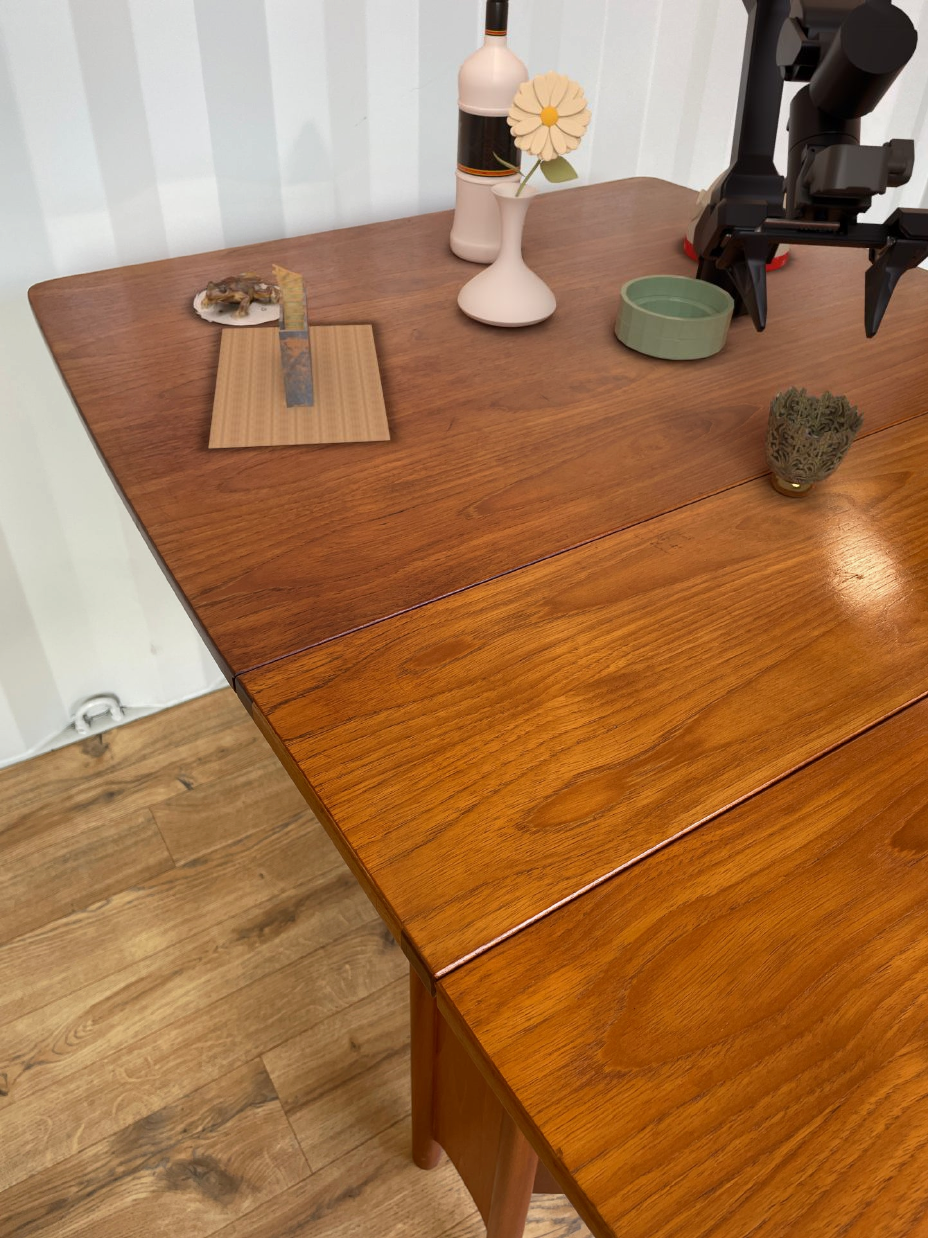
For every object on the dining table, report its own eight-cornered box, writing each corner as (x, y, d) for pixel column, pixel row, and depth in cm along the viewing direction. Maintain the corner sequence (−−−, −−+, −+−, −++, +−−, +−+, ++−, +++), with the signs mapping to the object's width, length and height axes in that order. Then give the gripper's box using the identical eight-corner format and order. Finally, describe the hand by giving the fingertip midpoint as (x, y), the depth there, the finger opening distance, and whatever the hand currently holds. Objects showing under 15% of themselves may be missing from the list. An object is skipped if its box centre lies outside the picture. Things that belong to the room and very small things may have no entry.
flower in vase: (441, 324, 101) (446, 70, 84) (478, 289, 109) (489, 50, 92) (550, 347, 98) (579, 88, 81) (580, 309, 106) (611, 65, 89)
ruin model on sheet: (222, 328, 98) (208, 237, 92) (371, 324, 101) (368, 235, 94) (208, 448, 80) (190, 345, 74) (390, 440, 82) (388, 339, 76)
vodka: (478, 271, 113) (491, -17, 93) (435, 248, 119) (439, -29, 99) (533, 257, 118) (557, -21, 98) (490, 235, 123) (504, -32, 103)
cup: (835, 475, 80) (865, 395, 75) (833, 520, 75) (865, 437, 70) (751, 459, 82) (775, 379, 77) (743, 501, 77) (768, 418, 71)
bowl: (591, 335, 101) (597, 291, 97) (660, 308, 107) (668, 266, 103) (676, 375, 94) (686, 330, 91) (745, 344, 100) (756, 301, 97)
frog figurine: (252, 335, 97) (247, 301, 95) (169, 310, 101) (163, 276, 99) (316, 300, 105) (313, 268, 102) (236, 277, 109) (232, 246, 106)
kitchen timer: (785, 241, 125) (817, 122, 115) (788, 277, 115) (824, 151, 105) (685, 230, 127) (708, 112, 117) (680, 264, 117) (705, 139, 107)
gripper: (741, 85, 68) (733, 286, 67) (988, 98, 67) (982, 300, 67) (703, 168, 79) (695, 340, 78) (915, 179, 79) (909, 352, 78)
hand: (816, 333), depth 75 cm, fingers open, 9 cm apart
